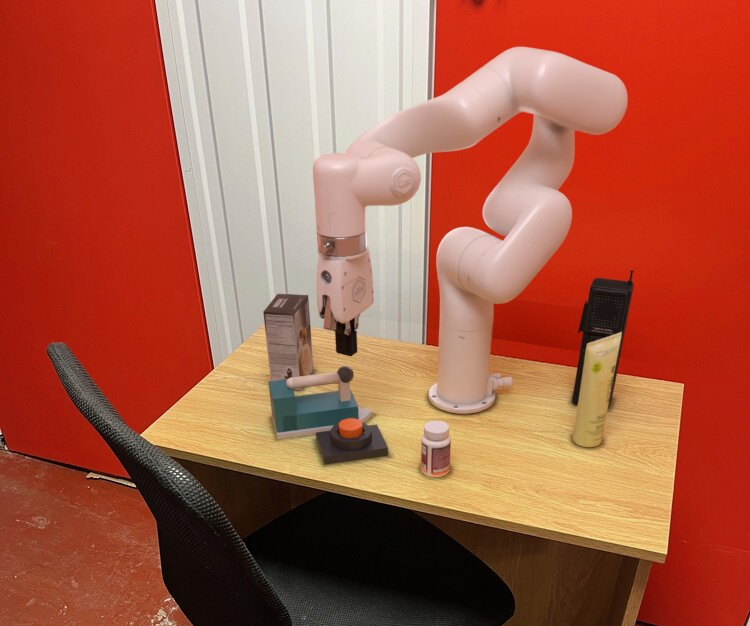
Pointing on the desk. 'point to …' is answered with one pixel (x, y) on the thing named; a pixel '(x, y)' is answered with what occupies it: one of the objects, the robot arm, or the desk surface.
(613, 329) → the portable radio
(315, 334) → the desk surface
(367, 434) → the switch box
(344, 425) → the power button
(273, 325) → the coffee box
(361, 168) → the robot arm
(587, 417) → the tube
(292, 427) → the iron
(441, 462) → the pill bottle
